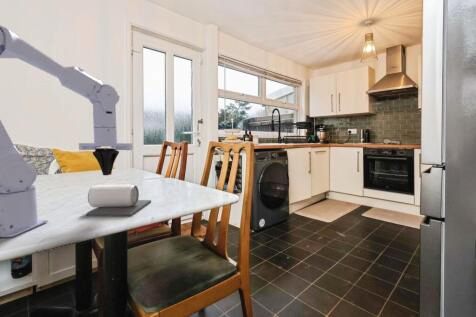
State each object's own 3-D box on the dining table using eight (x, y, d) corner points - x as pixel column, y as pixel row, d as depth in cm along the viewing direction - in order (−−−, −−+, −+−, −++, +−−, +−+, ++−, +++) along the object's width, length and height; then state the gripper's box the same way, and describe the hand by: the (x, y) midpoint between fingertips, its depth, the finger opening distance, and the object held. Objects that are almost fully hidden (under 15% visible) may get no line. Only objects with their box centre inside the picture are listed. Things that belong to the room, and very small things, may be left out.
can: (87, 209, 66) (130, 208, 66) (87, 185, 66) (130, 184, 67) (99, 205, 72) (139, 204, 73) (99, 184, 73) (139, 183, 73)
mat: (131, 216, 63) (131, 213, 63) (86, 215, 63) (86, 213, 63) (151, 201, 77) (151, 200, 77) (114, 201, 77) (114, 199, 77)
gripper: (136, 128, 72) (137, 173, 73) (89, 128, 72) (91, 172, 73) (125, 127, 65) (126, 176, 66) (72, 127, 65) (75, 176, 66)
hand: (107, 174), depth 69 cm, fingers closed
